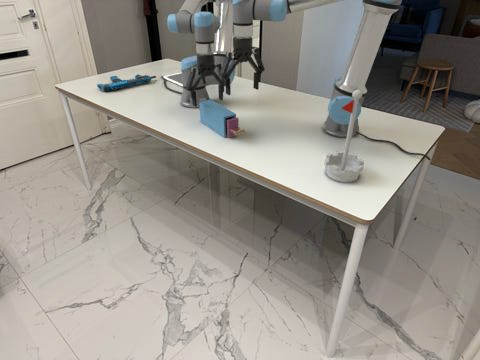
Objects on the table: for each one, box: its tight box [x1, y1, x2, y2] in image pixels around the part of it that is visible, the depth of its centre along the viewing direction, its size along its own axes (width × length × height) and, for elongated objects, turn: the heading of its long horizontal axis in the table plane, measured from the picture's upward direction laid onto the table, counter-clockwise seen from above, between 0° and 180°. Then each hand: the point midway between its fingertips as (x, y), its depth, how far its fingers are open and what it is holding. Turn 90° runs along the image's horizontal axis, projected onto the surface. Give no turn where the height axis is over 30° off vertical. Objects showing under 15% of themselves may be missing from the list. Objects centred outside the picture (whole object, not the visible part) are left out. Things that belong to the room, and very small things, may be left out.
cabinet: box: [199, 99, 237, 138], centre depth 151 cm, size 21×6×9 cm, turn 34°
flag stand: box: [323, 90, 365, 183], centre depth 111 cm, size 13×13×30 cm
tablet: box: [160, 72, 209, 88], centre depth 213 cm, size 32×20×1 cm, turn 41°
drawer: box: [225, 117, 246, 138], centre depth 146 cm, size 25×5×8 cm, turn 34°
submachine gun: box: [96, 74, 157, 92], centre depth 207 cm, size 34×4×25 cm
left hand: (208, 102), depth 153 cm, fingers open, 13 cm apart
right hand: (242, 91), depth 140 cm, fingers open, 13 cm apart
